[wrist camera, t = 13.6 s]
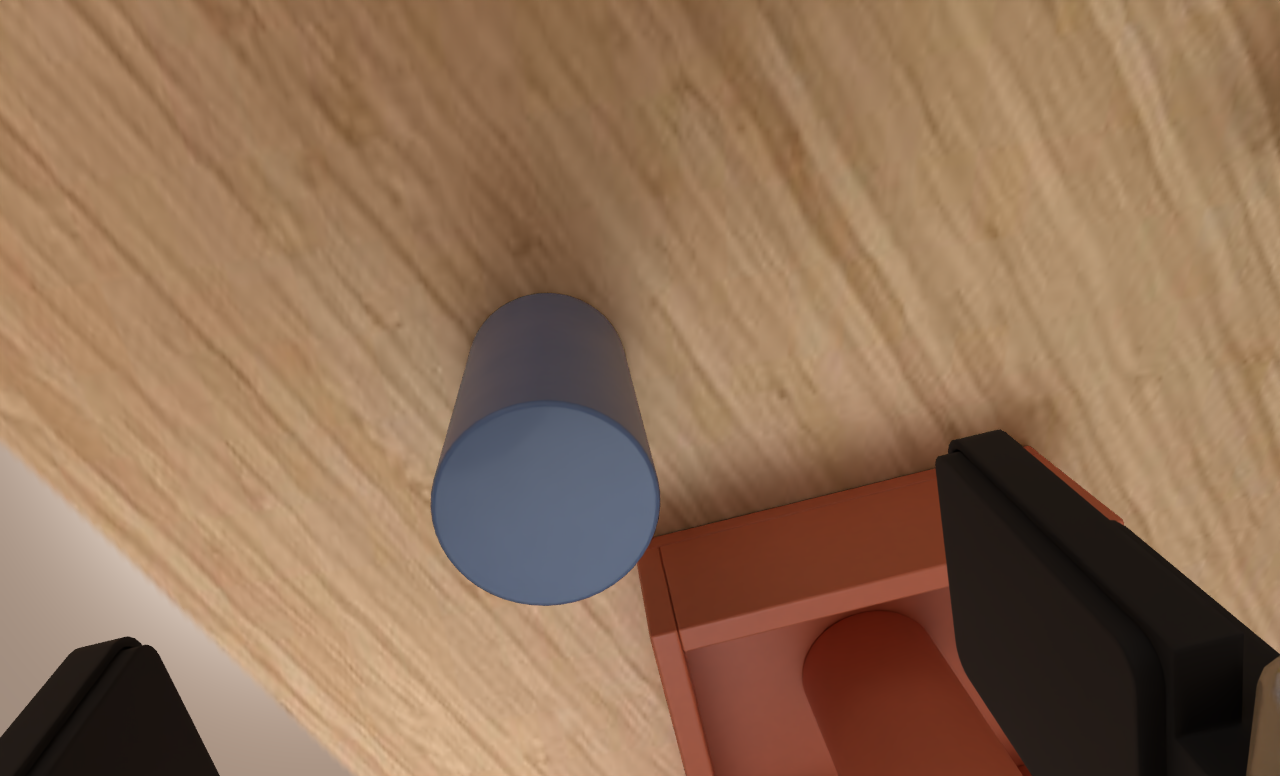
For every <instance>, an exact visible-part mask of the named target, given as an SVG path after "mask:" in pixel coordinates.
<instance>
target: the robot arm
mask: <svg viewBox="0 0 1280 776" xmlns="http://www.w3.org/2000/svg"><path fill="white" fill-rule="evenodd" d="M935 466H936V477H937V486H938V495H939V503H940V512H941V521H942V529H943V538H944V547H945V555H946V564H947V573H948V581H949V590H950V599H951V607H952V616H953V625H954V633H955V642H956V648H957V652H958V656H959V659H960V662H961V665H962V667H963V669H964V672H965V673H966V675H967V677H968V679H969V680H970V682H971V683H972V685H973V686H974V688H975V689H976V691H977V692H978V694H979V695H980V697H981V699H982V700H983V702H984V703H985V705H986V706H987V708H988V709H989V711H990V712H991V714H992V715H993V717H994V718H995V720H996V721H997V723H998V724H999V726H1000V728H1001V729H1002V731H1003V732H1004V734H1005V735H1006V737H1007V738H1008V740H1009V741H1010V743H1011V744H1012V746H1013V747H1014V749H1015V750H1016V752H1017V753H1018V755H1019V756H1020V758H1021V760H1022V761H1023V763H1024V764H1025V766H1026V767H1027V769H1028V770H1029V772H1030V773H1031V775H1032V776H1280V654H1279V653H1278V652H1277V651H1275V650H1274V649H1273V648H1272V647H1271V646H1269V645H1268V644H1267V643H1266V642H1264V641H1263V640H1262V639H1261V638H1260V637H1258V636H1257V635H1256V634H1255V633H1254V632H1252V631H1251V630H1250V629H1249V628H1248V627H1246V626H1245V625H1244V624H1243V623H1242V622H1240V621H1239V620H1238V619H1237V618H1236V617H1234V616H1233V615H1232V614H1231V613H1230V612H1228V611H1227V610H1226V609H1225V608H1223V607H1222V606H1221V605H1220V604H1219V603H1217V602H1216V601H1215V600H1214V599H1213V598H1211V597H1210V596H1209V595H1208V594H1207V593H1205V592H1204V591H1203V590H1202V589H1201V588H1199V587H1198V586H1197V585H1196V584H1195V583H1193V582H1192V581H1191V580H1190V579H1189V578H1187V577H1186V576H1185V575H1184V574H1183V573H1181V572H1180V571H1179V570H1178V569H1176V568H1175V567H1174V566H1173V565H1172V564H1170V563H1169V562H1168V561H1167V560H1166V559H1164V558H1163V557H1162V556H1161V555H1160V554H1158V553H1157V552H1156V551H1155V550H1154V549H1152V548H1151V547H1150V546H1149V545H1148V544H1146V543H1145V542H1144V541H1143V540H1142V539H1140V538H1139V537H1138V536H1137V535H1136V534H1134V533H1133V532H1132V531H1131V530H1129V529H1128V528H1127V527H1126V526H1124V525H1122V524H1121V523H1119V522H1118V521H1116V520H1109V519H1108V518H1107V517H1106V516H1104V515H1103V514H1102V513H1101V512H1100V511H1098V510H1097V509H1096V508H1095V507H1094V506H1093V505H1091V504H1090V503H1089V502H1088V501H1087V500H1085V499H1084V498H1083V497H1082V496H1081V495H1079V494H1078V493H1077V492H1076V491H1075V490H1074V489H1072V488H1071V487H1070V486H1069V485H1068V484H1066V483H1065V482H1064V481H1063V480H1062V479H1060V478H1059V477H1058V476H1057V475H1056V474H1055V473H1053V472H1052V471H1051V470H1050V469H1049V468H1047V467H1046V466H1045V465H1044V464H1043V463H1041V462H1040V461H1039V460H1038V459H1037V458H1036V457H1034V456H1033V455H1032V454H1031V453H1030V452H1028V451H1027V450H1026V449H1025V448H1024V447H1022V446H1021V445H1020V444H1019V443H1018V442H1017V441H1015V440H1014V439H1013V438H1012V437H1011V436H1009V435H1008V434H1007V433H1006V432H1004V431H1002V430H1001V429H1000V430H994V431H990V432H986V433H982V434H978V435H973V436H969V437H965V438H961V439H956V440H952V441H951V443H950V444H949V449H948V454H947V455H942V456H938V457H937V459H936V464H935ZM0 776H220V775H219V774H218V772H217V769H216V767H215V765H214V763H213V761H212V759H211V757H210V755H209V753H208V752H207V749H206V747H205V745H204V744H203V742H202V739H201V738H200V735H199V734H198V732H197V729H196V727H195V726H194V723H193V721H192V719H191V717H190V715H189V714H188V711H187V710H186V707H185V705H184V704H183V702H182V700H181V697H180V696H179V694H178V692H177V689H176V688H175V686H174V684H173V682H172V680H171V678H170V676H169V674H168V672H167V670H166V668H165V666H164V664H163V662H162V660H161V658H160V656H159V654H158V653H157V651H156V650H155V649H154V648H153V647H152V646H149V645H142V644H141V643H140V642H139V641H137V640H136V639H135V638H131V637H123V638H119V639H115V640H111V641H107V642H102V643H98V644H94V645H89V646H85V647H81V648H78V649H75V650H74V651H73V652H72V653H70V654H69V655H68V657H67V658H66V659H65V660H64V662H63V663H62V664H61V665H60V666H59V667H58V669H57V670H56V671H55V672H54V674H53V675H52V676H51V677H50V678H49V679H48V681H47V682H46V683H45V684H44V686H43V687H42V688H41V689H40V690H39V692H38V693H37V694H36V695H35V696H34V698H33V699H32V700H31V701H30V702H29V704H28V705H27V706H26V707H25V709H24V710H23V711H22V712H21V713H20V714H19V716H18V717H17V718H16V719H15V721H14V722H13V723H12V724H11V725H10V727H9V728H8V729H7V730H6V731H5V733H4V734H3V735H2V736H1V737H0Z"/></svg>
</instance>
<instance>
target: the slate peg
mask: <svg viewBox="0 0 1280 776" xmlns="http://www.w3.org/2000/svg"><path fill="white" fill-rule="evenodd" d="M659 511H660V490H659V484H658V478H657V474H656V471H655V467H654V463H653V459H652V455H651V451H650V448H649V444H648V440H647V436H646V432H645V428H644V425H643V421H642V417H641V413H640V409H639V406H638V402H637V398H636V394H635V390H634V386H633V383H632V379H631V375H630V371H629V367H628V363H627V360H626V356H625V352H624V349H623V346H622V342H621V340H620V338H619V336H618V334H617V332H616V331H615V329H614V327H613V326H612V324H611V323H610V322H609V321H608V320H607V319H606V318H605V316H603V315H602V314H601V313H600V312H599V311H598V310H596V309H595V308H593V307H592V306H591V305H589V304H587V303H585V302H583V301H581V300H579V299H576V298H573V297H571V296H567V295H562V294H554V293H538V294H532V295H527V296H524V297H520V298H517V299H515V300H513V301H511V302H508V303H507V304H505V305H503V306H502V307H500V308H499V309H498V310H496V311H495V312H494V313H493V314H492V315H490V317H489V318H488V319H487V320H486V321H485V322H484V323H483V325H482V326H481V328H480V329H479V330H478V332H477V334H476V336H475V338H474V340H473V343H472V346H471V349H470V352H469V356H468V359H467V363H466V367H465V370H464V374H463V377H462V381H461V384H460V388H459V391H458V395H457V399H456V402H455V406H454V409H453V413H452V416H451V420H450V423H449V427H448V430H447V434H446V438H445V441H444V445H443V448H442V452H441V455H440V459H439V462H438V466H437V470H436V473H435V477H434V480H433V486H432V491H431V515H432V522H433V526H434V529H435V533H436V536H437V538H438V540H439V543H440V545H441V547H442V549H443V550H444V552H445V554H446V555H447V557H448V558H449V560H450V561H451V562H452V563H453V564H454V566H455V567H456V568H457V569H458V570H459V571H460V572H461V573H462V574H463V575H464V576H465V577H466V578H467V579H468V580H470V581H471V582H472V583H474V584H475V585H477V586H478V587H479V588H481V589H483V590H485V591H487V592H489V593H490V594H493V595H495V596H497V597H500V598H502V599H505V600H509V601H513V602H516V603H521V604H528V605H542V606H548V605H561V604H566V603H572V602H576V601H579V600H582V599H586V598H589V597H591V596H593V595H595V594H598V593H600V592H602V591H604V590H605V589H607V588H609V587H610V586H612V585H614V584H615V583H616V582H618V581H619V580H620V579H622V578H623V577H624V576H625V575H626V574H627V573H628V572H629V571H630V570H631V569H632V568H633V567H634V566H635V565H636V563H637V562H638V561H639V560H640V558H641V557H642V556H643V554H644V553H645V551H646V549H647V548H648V546H649V544H650V542H651V540H652V538H653V535H654V533H655V530H656V526H657V523H658V519H659Z"/></svg>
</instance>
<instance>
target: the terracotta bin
mask: <svg viewBox="0 0 1280 776" xmlns="http://www.w3.org/2000/svg"><path fill="white" fill-rule="evenodd" d="M1024 448H1025V449H1026V450H1027V451H1028V452H1030V453H1031V454H1032V455H1033V456H1034V457H1036V458H1037V459H1038V460H1039V461H1040V462H1041V463H1043V464H1044V465H1045V466H1046V467H1047V468H1049V469H1050V470H1051V471H1052V472H1053V473H1055V474H1056V475H1057V476H1058V477H1059V478H1060V479H1062V480H1063V481H1064V482H1065V483H1066V484H1068V485H1069V486H1070V487H1071V488H1072V489H1074V490H1075V491H1076V492H1077V493H1078V494H1079V495H1081V496H1082V497H1083V498H1084V499H1085V500H1087V501H1088V502H1089V503H1090V504H1091V505H1093V506H1094V507H1095V508H1096V509H1097V510H1098V511H1100V512H1101V513H1102V514H1103V515H1104V516H1106V517H1107V518H1108V519H1109V520H1116V521H1118V522H1119V523H1121V524H1122V525H1124V522H1123V520H1122V519H1121V518H1120V517H1119V516H1118V515H1116V514H1115V513H1114V512H1113V511H1111V510H1110V509H1109V508H1108V507H1106V506H1105V505H1104V504H1102V503H1101V502H1100V501H1099V500H1097V499H1096V498H1095V497H1094V496H1092V495H1091V494H1090V493H1089V492H1087V491H1086V490H1085V489H1083V488H1082V487H1081V486H1080V485H1078V484H1077V483H1076V482H1075V481H1073V480H1072V479H1071V478H1070V477H1068V476H1067V475H1066V474H1064V473H1063V472H1062V471H1061V470H1059V469H1058V468H1057V467H1056V466H1054V465H1053V464H1052V463H1051V462H1049V461H1048V460H1047V459H1046V458H1044V457H1043V456H1042V455H1040V454H1039V453H1038V452H1037V451H1036V450H1034V449H1033V448H1032V447H1031V446H1024ZM637 566H638V572H639V578H640V583H641V589H642V595H643V601H644V606H645V612H646V618H647V623H648V629H649V635H650V640H651V643H652V647H653V651H654V655H655V659H656V663H657V666H658V670H659V674H660V678H661V682H662V685H663V689H664V693H665V697H666V701H667V705H668V708H669V712H670V716H671V720H672V724H673V727H674V731H675V735H676V739H677V743H678V747H679V750H680V754H681V758H682V762H683V766H684V770H685V773H686V776H839V775H838V773H837V771H836V768H835V766H834V763H833V761H832V758H831V756H830V753H829V751H828V748H827V746H826V744H825V741H824V739H823V736H822V734H821V731H820V729H819V726H818V724H817V721H816V719H815V717H814V714H813V712H812V709H811V707H810V704H809V702H808V699H807V697H806V694H805V691H804V688H803V680H802V678H803V668H804V663H805V660H806V657H807V655H808V653H809V651H810V649H811V647H812V646H813V644H814V643H815V641H816V640H817V639H818V638H819V637H820V636H821V635H822V634H823V633H824V632H825V631H826V630H827V629H828V628H830V627H831V626H833V625H834V624H835V623H837V622H839V621H841V620H843V619H845V618H847V617H849V616H852V615H855V614H859V613H863V612H868V611H889V612H895V613H898V614H901V615H904V616H906V617H908V618H911V619H912V620H914V621H915V622H917V623H918V624H920V625H921V626H922V627H923V628H924V629H925V630H926V632H927V633H928V634H929V636H930V637H931V639H932V640H933V642H934V643H935V645H936V646H937V648H938V649H939V651H940V652H941V654H942V655H943V657H944V658H945V660H946V661H947V663H948V664H949V666H950V667H951V669H952V670H953V672H954V673H955V675H956V676H957V678H958V679H959V681H960V682H961V684H962V685H963V687H964V688H965V690H966V691H967V693H968V694H969V696H970V697H971V699H972V700H973V702H974V703H975V705H976V706H977V708H978V709H979V711H980V712H981V714H982V715H983V717H984V718H985V720H986V721H987V723H988V724H989V726H990V727H991V729H992V730H993V732H994V733H995V734H996V736H997V737H998V739H999V740H1000V742H1001V743H1002V745H1003V746H1004V748H1005V749H1006V751H1007V752H1008V754H1009V755H1010V757H1011V758H1012V760H1013V761H1014V763H1015V764H1016V766H1017V767H1018V769H1019V770H1020V772H1021V773H1022V775H1023V776H1032V775H1031V773H1030V772H1029V770H1028V769H1027V767H1026V766H1025V764H1024V763H1023V761H1022V760H1021V758H1020V756H1019V755H1018V753H1017V752H1016V750H1015V749H1014V747H1013V746H1012V744H1011V743H1010V741H1009V740H1008V738H1007V737H1006V735H1005V734H1004V732H1003V731H1002V729H1001V728H1000V726H999V724H998V723H997V721H996V720H995V718H994V717H993V715H992V714H991V712H990V711H989V709H988V708H987V706H986V705H985V703H984V702H983V700H982V699H981V697H980V695H979V694H978V692H977V691H976V689H975V688H974V686H973V685H972V683H971V682H970V680H969V679H968V677H967V675H966V673H965V672H964V669H963V667H962V665H961V662H960V659H959V656H958V652H957V648H956V642H955V633H954V625H953V616H952V607H951V599H950V590H949V581H948V573H947V564H946V555H945V547H944V538H943V529H942V521H941V512H940V503H939V495H938V486H937V477H936V468H935V469H931V470H927V471H922V472H918V473H914V474H910V475H906V476H902V477H898V478H894V479H890V480H886V481H882V482H878V483H874V484H870V485H865V486H861V487H857V488H853V489H849V490H845V491H841V492H837V493H833V494H829V495H825V496H821V497H817V498H813V499H809V500H804V501H800V502H796V503H792V504H788V505H784V506H780V507H776V508H772V509H768V510H764V511H760V512H756V513H752V514H747V515H743V516H739V517H735V518H731V519H727V520H723V521H719V522H715V523H711V524H707V525H703V526H699V527H695V528H690V529H686V530H682V531H678V532H674V533H670V534H666V535H662V536H658V537H654V538H652V540H651V542H650V544H649V546H648V548H647V549H646V551H645V553H644V554H643V556H642V557H641V558H640V560H639V561H638V562H637Z"/></svg>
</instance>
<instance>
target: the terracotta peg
mask: <svg viewBox="0 0 1280 776" xmlns="http://www.w3.org/2000/svg"><path fill="white" fill-rule="evenodd" d="M802 680H803V688H804V691H805V694H806V697H807V699H808V702H809V704H810V707H811V709H812V712H813V714H814V717H815V719H816V721H817V724H818V726H819V729H820V731H821V734H822V736H823V739H824V741H825V744H826V746H827V748H828V751H829V753H830V756H831V758H832V761H833V763H834V766H835V768H836V771H837V773H838V775H839V776H1023V775H1022V773H1021V772H1020V770H1019V769H1018V767H1017V766H1016V764H1015V763H1014V761H1013V760H1012V758H1011V757H1010V755H1009V754H1008V752H1007V751H1006V749H1005V748H1004V746H1003V745H1002V743H1001V742H1000V740H999V739H998V737H997V736H996V734H995V733H994V732H993V730H992V729H991V727H990V726H989V724H988V723H987V721H986V720H985V718H984V717H983V715H982V714H981V712H980V711H979V709H978V708H977V706H976V705H975V703H974V702H973V700H972V699H971V697H970V696H969V694H968V693H967V691H966V690H965V688H964V687H963V685H962V684H961V682H960V681H959V679H958V678H957V676H956V675H955V673H954V672H953V670H952V669H951V667H950V666H949V664H948V663H947V661H946V660H945V658H944V657H943V655H942V654H941V652H940V651H939V649H938V648H937V646H936V645H935V643H934V642H933V640H932V639H931V637H930V636H929V634H928V633H927V632H926V630H925V629H924V628H923V627H922V626H921V625H920V624H918V623H917V622H915V621H914V620H912V619H911V618H908V617H906V616H904V615H901V614H898V613H895V612H889V611H868V612H863V613H859V614H855V615H852V616H849V617H847V618H845V619H843V620H841V621H839V622H837V623H835V624H834V625H833V626H831V627H830V628H828V629H827V630H826V631H825V632H824V633H823V634H822V635H821V636H820V637H819V638H818V639H817V640H816V641H815V643H814V644H813V646H812V647H811V649H810V651H809V653H808V655H807V657H806V660H805V663H804V668H803V678H802Z"/></svg>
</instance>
